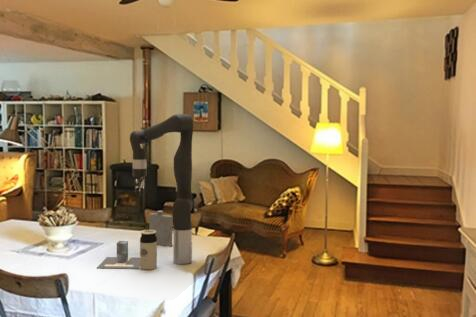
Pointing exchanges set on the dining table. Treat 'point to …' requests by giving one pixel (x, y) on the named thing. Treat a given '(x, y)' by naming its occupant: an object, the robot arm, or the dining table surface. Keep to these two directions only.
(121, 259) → the slate block
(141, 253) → the travel mug
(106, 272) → the dining table surface
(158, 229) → the hip flask
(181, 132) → the robot arm
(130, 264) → the letter board
